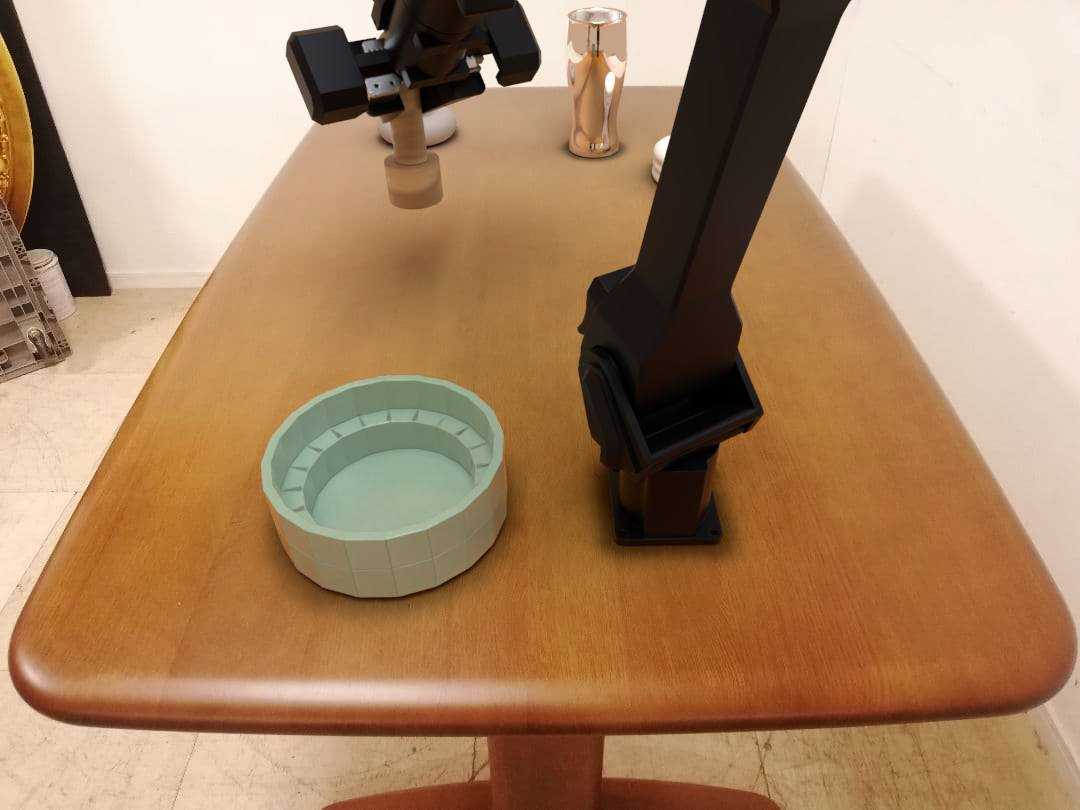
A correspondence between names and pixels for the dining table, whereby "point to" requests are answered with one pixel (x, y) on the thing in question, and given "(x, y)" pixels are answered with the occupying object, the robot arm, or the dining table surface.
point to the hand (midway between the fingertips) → (399, 114)
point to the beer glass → (595, 78)
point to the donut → (428, 126)
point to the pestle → (412, 158)
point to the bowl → (387, 484)
